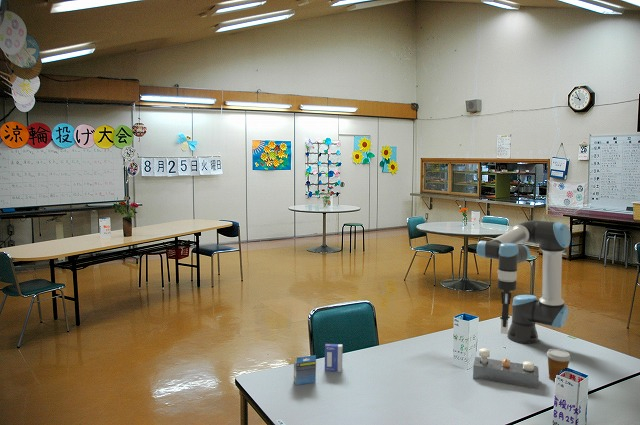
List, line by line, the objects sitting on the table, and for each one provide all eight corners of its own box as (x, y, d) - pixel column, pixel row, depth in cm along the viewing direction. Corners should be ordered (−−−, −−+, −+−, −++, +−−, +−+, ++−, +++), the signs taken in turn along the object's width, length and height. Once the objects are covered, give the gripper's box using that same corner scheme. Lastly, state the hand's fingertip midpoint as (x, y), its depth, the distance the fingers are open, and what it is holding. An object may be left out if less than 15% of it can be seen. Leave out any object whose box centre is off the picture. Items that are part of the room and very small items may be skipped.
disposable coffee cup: (544, 381, 214) (546, 354, 212) (545, 372, 222) (547, 346, 221) (568, 385, 209) (570, 358, 208) (569, 377, 218) (571, 350, 216)
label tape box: (313, 378, 214) (313, 351, 213) (316, 382, 210) (316, 355, 209) (293, 381, 211) (293, 354, 210) (296, 385, 207) (296, 357, 206)
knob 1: (479, 363, 221) (479, 347, 220) (489, 365, 219) (490, 349, 218) (478, 367, 217) (478, 351, 216) (488, 369, 215) (489, 352, 214)
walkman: (324, 370, 222) (324, 345, 220) (325, 368, 224) (325, 342, 223) (342, 371, 221) (342, 346, 220) (342, 369, 224) (342, 343, 222)
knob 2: (522, 377, 214) (523, 360, 214) (533, 379, 213) (534, 362, 212) (522, 381, 210) (523, 364, 210) (533, 383, 209) (534, 366, 208)
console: (474, 369, 225) (475, 356, 224) (537, 379, 215) (538, 366, 214) (472, 378, 215) (473, 365, 215) (537, 389, 206) (538, 375, 205)
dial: (502, 363, 217) (502, 357, 216) (510, 365, 215) (510, 359, 215) (501, 366, 214) (501, 360, 213) (509, 368, 212) (509, 362, 212)
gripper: (497, 275, 218) (495, 327, 220) (497, 282, 206) (494, 337, 208) (516, 277, 215) (513, 329, 218) (516, 284, 203) (513, 339, 206)
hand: (504, 333), depth 213 cm, fingers closed
